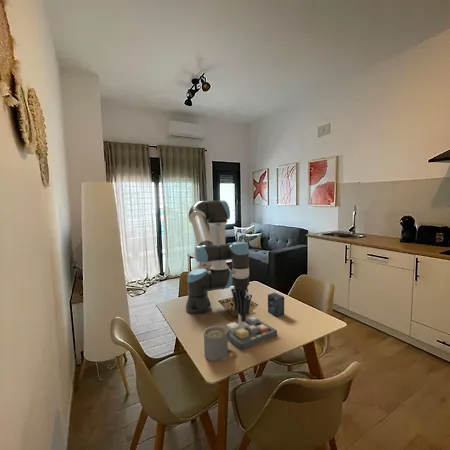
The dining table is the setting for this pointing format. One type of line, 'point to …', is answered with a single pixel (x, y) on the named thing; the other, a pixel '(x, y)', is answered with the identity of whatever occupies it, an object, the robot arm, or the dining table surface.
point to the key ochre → (242, 333)
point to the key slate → (253, 320)
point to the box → (276, 304)
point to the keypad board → (251, 337)
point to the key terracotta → (263, 328)
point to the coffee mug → (216, 343)
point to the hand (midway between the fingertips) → (242, 327)
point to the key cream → (233, 326)
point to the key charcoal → (252, 329)
